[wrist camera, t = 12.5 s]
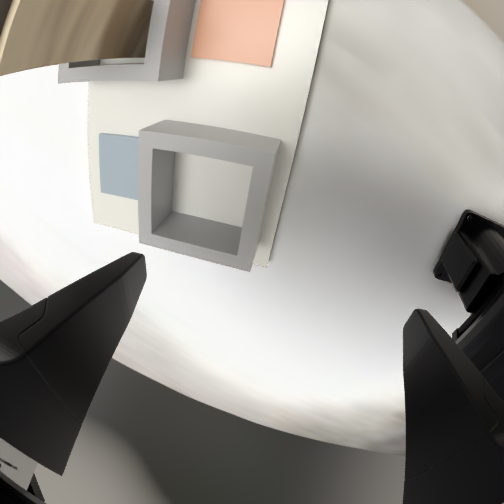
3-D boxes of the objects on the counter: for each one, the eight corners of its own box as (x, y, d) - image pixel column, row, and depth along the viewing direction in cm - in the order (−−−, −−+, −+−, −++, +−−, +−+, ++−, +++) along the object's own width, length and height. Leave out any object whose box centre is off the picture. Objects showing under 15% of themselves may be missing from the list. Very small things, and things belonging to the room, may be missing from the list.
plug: (173, 7, 14) (9, -24, 3) (146, 57, 16) (-23, 82, 5) (129, -6, 13) (-29, -22, 2) (105, 41, 15) (-54, 64, 5)
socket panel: (332, -23, 12) (338, -48, 8) (268, 260, 24) (259, 297, 21) (112, -25, 13) (75, -35, 9) (99, 217, 25) (71, 242, 22)
